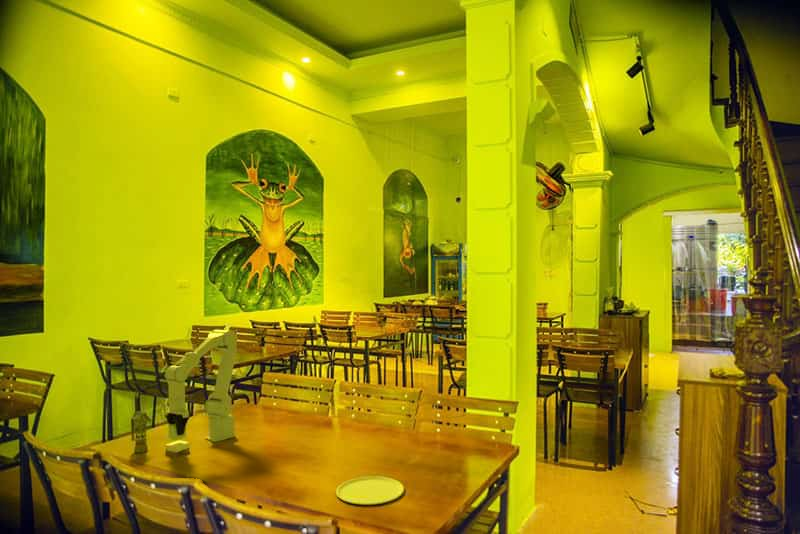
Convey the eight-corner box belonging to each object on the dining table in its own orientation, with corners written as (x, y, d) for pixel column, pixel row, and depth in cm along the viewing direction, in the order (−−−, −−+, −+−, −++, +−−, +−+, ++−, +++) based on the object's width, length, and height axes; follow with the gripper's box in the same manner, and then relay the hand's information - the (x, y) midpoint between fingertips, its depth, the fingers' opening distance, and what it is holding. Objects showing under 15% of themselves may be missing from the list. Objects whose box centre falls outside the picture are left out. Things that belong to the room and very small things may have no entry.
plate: (418, 495, 164) (418, 491, 164) (358, 514, 152) (358, 510, 152) (380, 474, 181) (379, 471, 181) (323, 490, 169) (323, 486, 169)
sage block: (180, 435, 209) (180, 422, 209) (185, 437, 206) (185, 424, 206) (168, 438, 206) (168, 425, 206) (174, 440, 203) (173, 427, 203)
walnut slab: (179, 450, 210) (179, 445, 210) (189, 453, 207) (189, 447, 207) (165, 455, 205) (165, 450, 205) (175, 458, 202) (175, 452, 202)
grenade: (142, 454, 205) (141, 414, 205) (126, 453, 207) (125, 413, 207) (154, 447, 212) (153, 409, 212) (139, 446, 214) (138, 408, 214)
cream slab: (179, 445, 210) (178, 440, 210) (189, 447, 207) (189, 442, 207) (165, 450, 205) (165, 444, 205) (176, 452, 202) (175, 447, 202)
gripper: (157, 396, 208) (158, 432, 208) (175, 402, 198) (176, 439, 198) (175, 393, 213) (176, 428, 213) (193, 398, 203) (194, 435, 203)
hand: (177, 433), depth 206 cm, fingers closed on sage block, 4 cm apart
